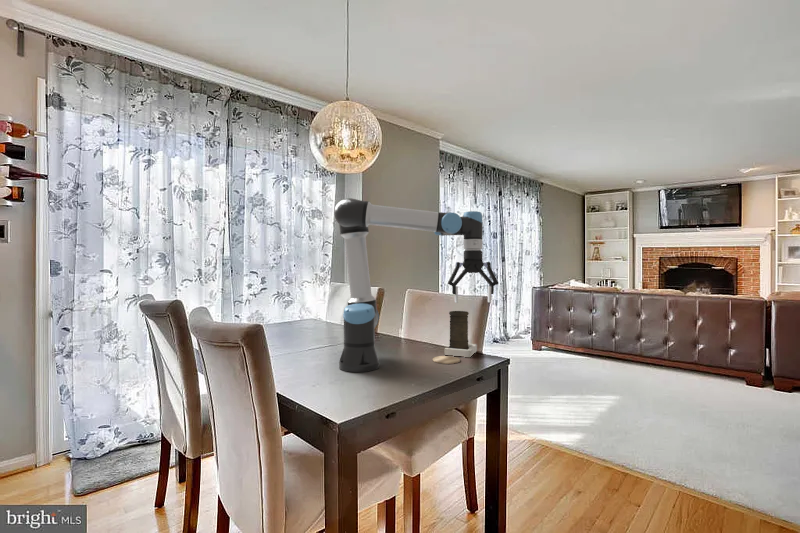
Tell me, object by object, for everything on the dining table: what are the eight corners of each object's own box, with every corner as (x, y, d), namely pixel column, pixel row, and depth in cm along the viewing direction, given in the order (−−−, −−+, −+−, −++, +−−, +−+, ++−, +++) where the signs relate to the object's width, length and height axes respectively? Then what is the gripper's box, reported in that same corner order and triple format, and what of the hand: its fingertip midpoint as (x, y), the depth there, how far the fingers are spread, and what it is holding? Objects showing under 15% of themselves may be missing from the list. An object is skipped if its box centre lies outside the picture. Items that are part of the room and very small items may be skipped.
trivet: (429, 362, 166) (429, 361, 166) (437, 356, 177) (437, 355, 177) (456, 365, 162) (456, 363, 162) (462, 358, 173) (462, 357, 173)
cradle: (444, 355, 178) (444, 348, 178) (452, 348, 191) (452, 342, 191) (470, 357, 174) (470, 350, 174) (477, 350, 187) (477, 344, 187)
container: (470, 355, 178) (471, 313, 178) (449, 355, 178) (449, 313, 178) (467, 350, 187) (467, 310, 187) (447, 350, 187) (447, 310, 187)
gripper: (443, 249, 166) (443, 303, 166) (506, 249, 167) (506, 303, 168) (441, 250, 173) (440, 301, 174) (500, 250, 175) (500, 301, 175)
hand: (472, 302), depth 171 cm, fingers open, 13 cm apart
